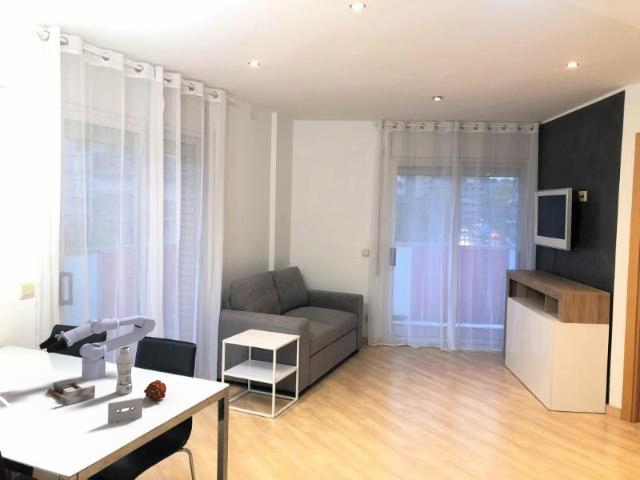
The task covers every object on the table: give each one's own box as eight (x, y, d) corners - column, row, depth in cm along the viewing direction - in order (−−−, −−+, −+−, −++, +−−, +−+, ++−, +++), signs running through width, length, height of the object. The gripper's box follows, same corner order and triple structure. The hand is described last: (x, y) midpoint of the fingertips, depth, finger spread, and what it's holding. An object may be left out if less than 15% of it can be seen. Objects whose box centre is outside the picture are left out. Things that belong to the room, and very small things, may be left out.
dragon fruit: (155, 409, 197) (152, 402, 208) (173, 394, 200) (169, 388, 211) (142, 393, 196) (140, 387, 206) (160, 378, 199) (157, 373, 210)
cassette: (141, 416, 186) (141, 396, 186) (142, 418, 185) (142, 398, 184) (107, 423, 179) (107, 402, 179) (108, 424, 178) (108, 404, 177)
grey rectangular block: (70, 387, 209) (71, 379, 209) (75, 390, 206) (76, 382, 206) (53, 391, 204) (53, 383, 204) (58, 394, 201) (58, 386, 201)
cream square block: (72, 391, 204) (72, 386, 204) (76, 394, 202) (76, 389, 202) (63, 394, 202) (63, 389, 202) (67, 396, 199) (67, 391, 199)
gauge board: (73, 387, 212) (73, 373, 212) (94, 400, 199) (94, 385, 199) (46, 393, 204) (46, 379, 204) (66, 407, 191) (66, 392, 191)
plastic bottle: (135, 393, 208) (136, 347, 207) (123, 398, 202) (124, 351, 201) (124, 390, 211) (125, 345, 210) (112, 395, 205) (112, 348, 204)
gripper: (65, 324, 220) (34, 337, 210) (80, 329, 210) (47, 343, 201) (70, 338, 221) (39, 352, 212) (84, 344, 212) (52, 359, 202)
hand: (43, 349), depth 206 cm, fingers open, 7 cm apart
